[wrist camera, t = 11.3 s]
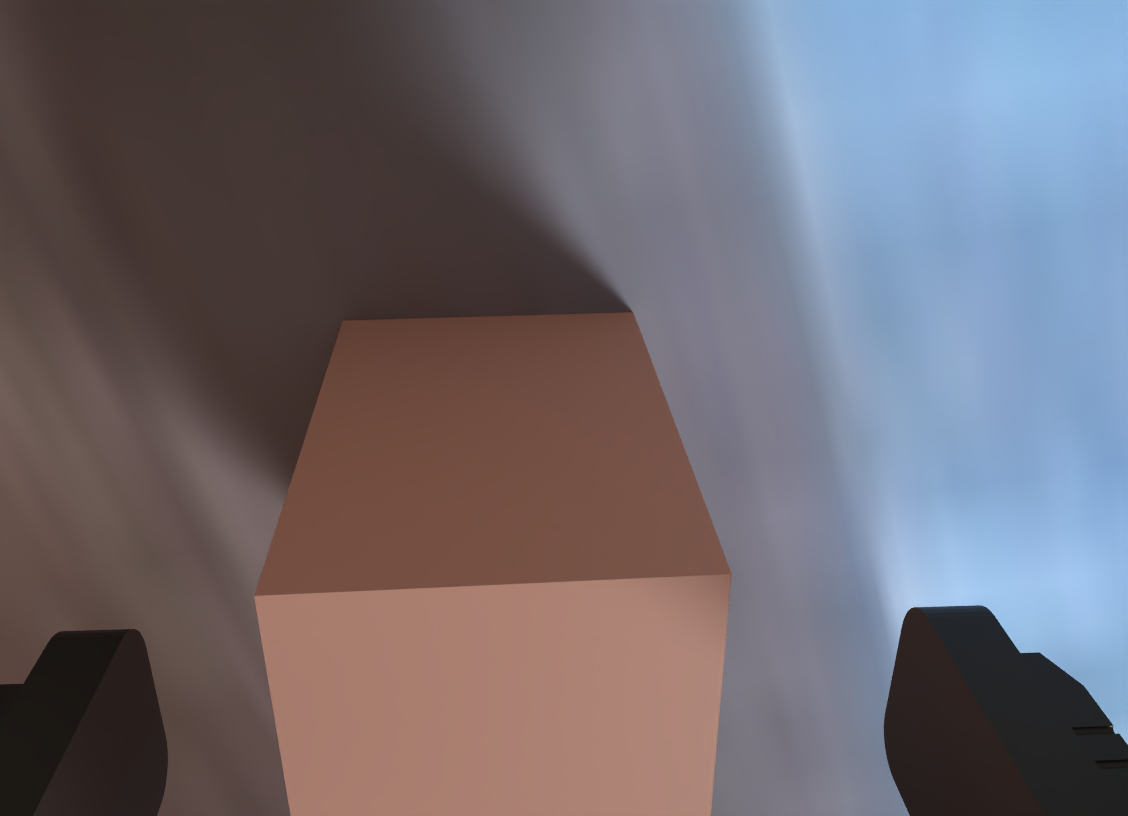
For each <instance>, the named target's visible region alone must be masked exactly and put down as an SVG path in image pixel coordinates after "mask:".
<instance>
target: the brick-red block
mask: <svg viewBox="0 0 1128 816" xmlns="http://www.w3.org/2000/svg"><path fill="white" fill-rule="evenodd" d="M730 586H731V571H730V569H729V566H728V563H727V561H726V558H725V555H724V553H723V550H722V548H721V545H720V542H719V540H718V537H717V534H716V532H715V529H714V526H713V524H712V521H711V518H710V516H709V513H708V510H707V508H706V505H705V502H704V500H703V497H702V494H701V492H700V489H699V486H698V484H697V481H696V478H695V476H694V473H693V470H692V468H691V465H690V462H689V460H688V457H687V454H686V452H685V449H684V446H683V444H682V441H681V438H680V436H679V433H678V430H677V428H676V425H675V422H674V420H673V417H672V414H671V412H670V409H669V406H668V404H667V401H666V399H665V396H664V393H663V391H662V388H661V385H660V383H659V380H658V377H657V375H656V372H655V369H654V367H653V364H652V361H651V359H650V356H649V353H648V351H647V348H646V345H645V343H644V340H643V337H642V335H641V332H640V329H639V327H638V324H637V321H636V319H635V316H634V313H633V312H625V313H590V314H555V315H519V316H484V317H448V318H413V319H378V320H343V321H342V324H341V327H340V330H339V334H338V337H337V340H336V343H335V346H334V349H333V352H332V355H331V358H330V362H329V365H328V368H327V371H326V374H325V377H324V380H323V383H322V387H321V390H320V393H319V396H318V399H317V402H316V405H315V408H314V411H313V415H312V418H311V421H310V424H309V427H308V430H307V433H306V436H305V439H304V443H303V446H302V449H301V452H300V455H299V458H298V461H297V464H296V467H295V471H294V474H293V477H292V480H291V483H290V486H289V489H288V492H287V496H286V499H285V502H284V505H283V508H282V511H281V514H280V517H279V520H278V524H277V527H276V530H275V533H274V536H273V539H272V542H271V545H270V548H269V552H268V555H267V558H266V561H265V564H264V567H263V570H262V573H261V577H260V580H259V583H258V586H257V589H256V592H255V595H254V597H255V603H256V610H257V616H258V622H259V628H260V634H261V640H262V646H263V652H264V658H265V664H266V670H267V676H268V682H269V688H270V694H271V700H272V706H273V712H274V718H275V724H276V730H277V736H278V742H279V748H280V754H281V760H282V766H283V772H284V778H285V784H286V790H287V796H288V802H289V808H290V814H291V816H711V805H712V794H713V782H714V771H715V759H716V747H717V736H718V724H719V713H720V701H721V690H722V678H723V667H724V655H725V643H726V632H727V620H728V609H729V597H730Z"/></svg>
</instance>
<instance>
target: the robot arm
mask: <svg viewBox="0 0 1128 816" xmlns="http://www.w3.org/2000/svg"><path fill="white" fill-rule="evenodd" d="M884 740H885V749H886V755H887V760H888V764H889V767H890V771H891V774H892V776H893V779H894V781H895V783H896V786H897V788H898V790H899V792H900V795H901V797H902V799H903V801H904V803H905V806H906V808H907V810H908V812H909V815H910V816H1128V745H1127V743H1126V742H1125V741H1124V739H1123V738H1122V737H1121V735H1120V734H1115V733H1114V731H1113V725H1112V723H1111V722H1110V721H1109V719H1108V718H1107V716H1106V715H1105V714H1104V712H1103V711H1102V710H1101V708H1100V707H1099V706H1098V704H1097V703H1096V702H1095V700H1094V699H1093V698H1092V696H1091V695H1090V694H1089V692H1088V691H1087V690H1086V688H1085V687H1084V686H1083V685H1082V684H1081V683H1079V682H1078V681H1077V680H1075V679H1074V678H1073V677H1071V676H1070V675H1069V674H1067V673H1066V672H1065V671H1063V670H1062V669H1061V668H1059V667H1058V666H1057V665H1055V664H1054V663H1053V662H1051V661H1050V660H1049V659H1047V658H1046V657H1045V656H1043V655H1042V654H1041V653H1020V652H1019V651H1018V649H1017V648H1016V646H1015V645H1014V644H1013V642H1012V641H1011V639H1010V638H1009V636H1008V635H1007V633H1006V632H1005V631H1004V629H1003V628H1002V626H1001V625H1000V623H999V622H998V620H997V619H996V618H995V616H994V615H993V614H992V612H991V611H990V610H989V609H987V608H986V607H984V606H947V607H914V608H911V609H910V610H909V611H908V612H907V614H906V615H905V618H904V621H903V625H902V629H901V635H900V640H899V645H898V650H897V655H896V660H895V666H894V671H893V676H892V681H891V686H890V691H889V697H888V702H887V707H886V712H885V719H884ZM167 767H168V750H167V741H166V735H165V731H164V726H163V722H162V717H161V713H160V708H159V704H158V699H157V695H156V690H155V685H154V681H153V676H152V672H151V667H150V663H149V658H148V654H147V649H146V645H145V642H144V639H143V637H142V635H141V634H140V632H139V631H138V630H135V629H120V630H87V631H62V632H58V633H56V634H55V635H54V636H53V637H52V638H51V639H50V641H49V642H48V644H47V645H46V647H45V649H44V650H43V652H42V654H41V655H40V657H39V659H38V660H37V662H36V664H35V665H34V667H33V669H32V670H31V672H30V674H29V675H28V677H27V679H26V680H25V682H24V684H6V685H0V816H157V814H158V811H159V808H160V805H161V802H162V799H163V795H164V790H165V785H166V778H167Z"/></svg>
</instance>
